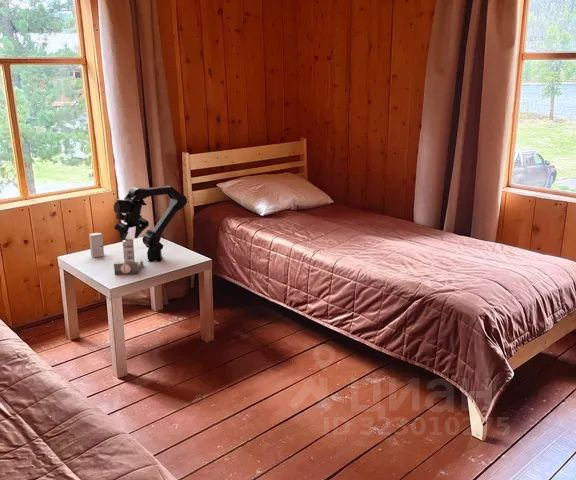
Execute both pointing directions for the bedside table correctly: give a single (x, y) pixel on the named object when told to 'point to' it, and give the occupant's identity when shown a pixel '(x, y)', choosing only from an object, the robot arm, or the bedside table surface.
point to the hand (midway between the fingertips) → (129, 239)
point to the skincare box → (96, 244)
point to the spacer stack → (128, 250)
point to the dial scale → (127, 267)
